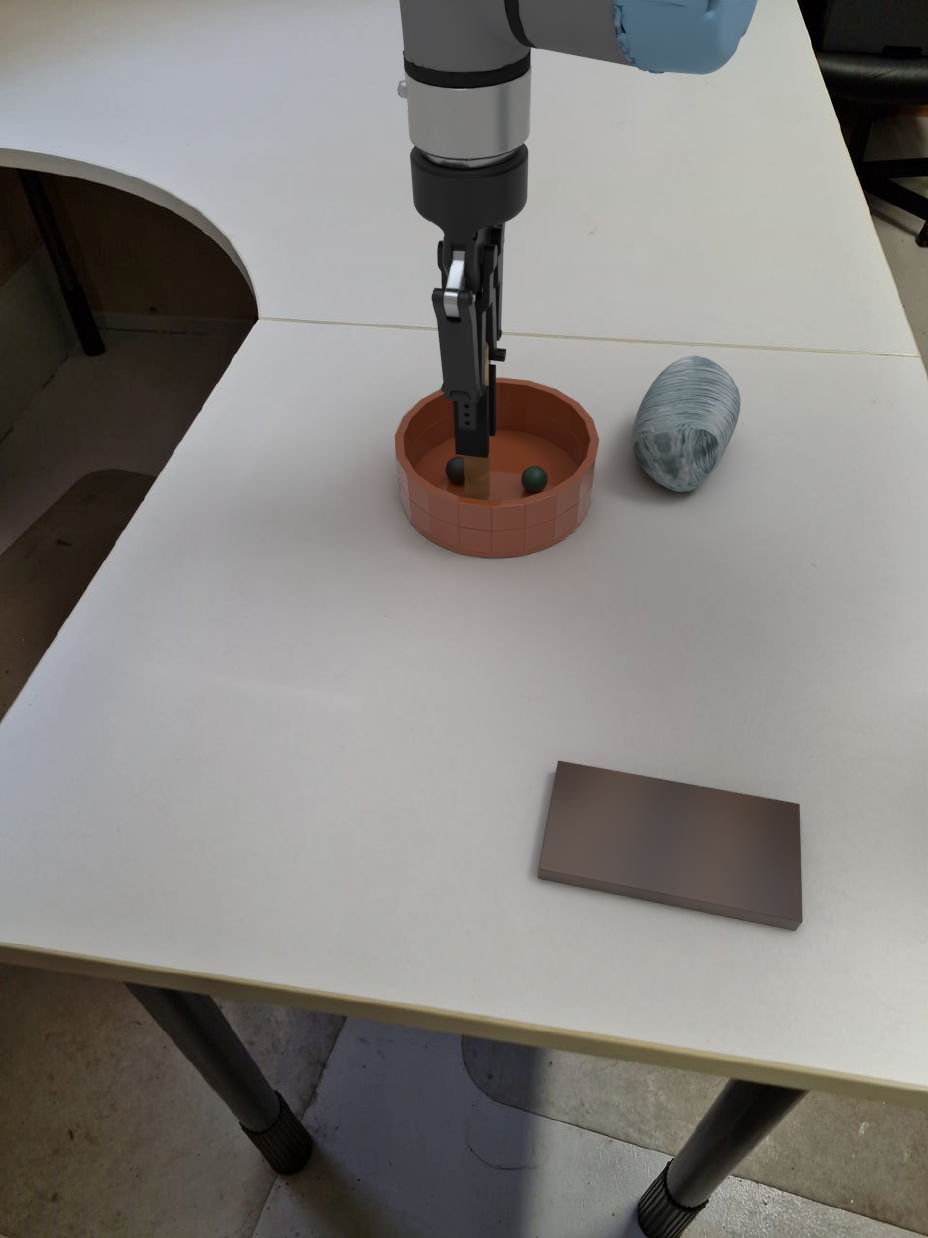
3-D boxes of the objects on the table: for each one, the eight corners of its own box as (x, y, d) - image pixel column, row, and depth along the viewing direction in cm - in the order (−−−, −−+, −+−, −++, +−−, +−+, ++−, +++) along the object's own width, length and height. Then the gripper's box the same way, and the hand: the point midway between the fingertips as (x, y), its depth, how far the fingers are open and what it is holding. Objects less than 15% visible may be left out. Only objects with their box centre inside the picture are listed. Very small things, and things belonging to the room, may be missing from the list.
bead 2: (549, 482, 78) (550, 461, 77) (544, 499, 77) (545, 479, 75) (523, 479, 79) (523, 458, 77) (518, 496, 77) (519, 475, 75)
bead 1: (474, 472, 80) (474, 452, 78) (469, 489, 78) (468, 469, 76) (449, 469, 80) (448, 449, 78) (443, 486, 78) (442, 466, 77)
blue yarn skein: (732, 494, 73) (705, 381, 69) (628, 510, 78) (598, 405, 74) (766, 437, 82) (744, 334, 78) (671, 454, 88) (646, 359, 84)
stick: (492, 488, 77) (491, 339, 65) (487, 504, 75) (485, 355, 64) (468, 485, 77) (462, 336, 66) (462, 501, 76) (456, 352, 64)
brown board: (794, 814, 57) (800, 803, 56) (796, 931, 52) (802, 922, 51) (556, 771, 60) (557, 760, 59) (537, 878, 55) (538, 868, 54)
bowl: (603, 440, 83) (609, 388, 78) (578, 571, 72) (583, 519, 67) (427, 420, 86) (423, 368, 81) (377, 543, 75) (369, 491, 70)
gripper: (439, 94, 59) (453, 384, 77) (377, 193, 50) (409, 497, 68) (547, 100, 58) (535, 393, 76) (504, 202, 48) (502, 509, 66)
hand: (476, 441), depth 72 cm, fingers closed on stick, 2 cm apart
